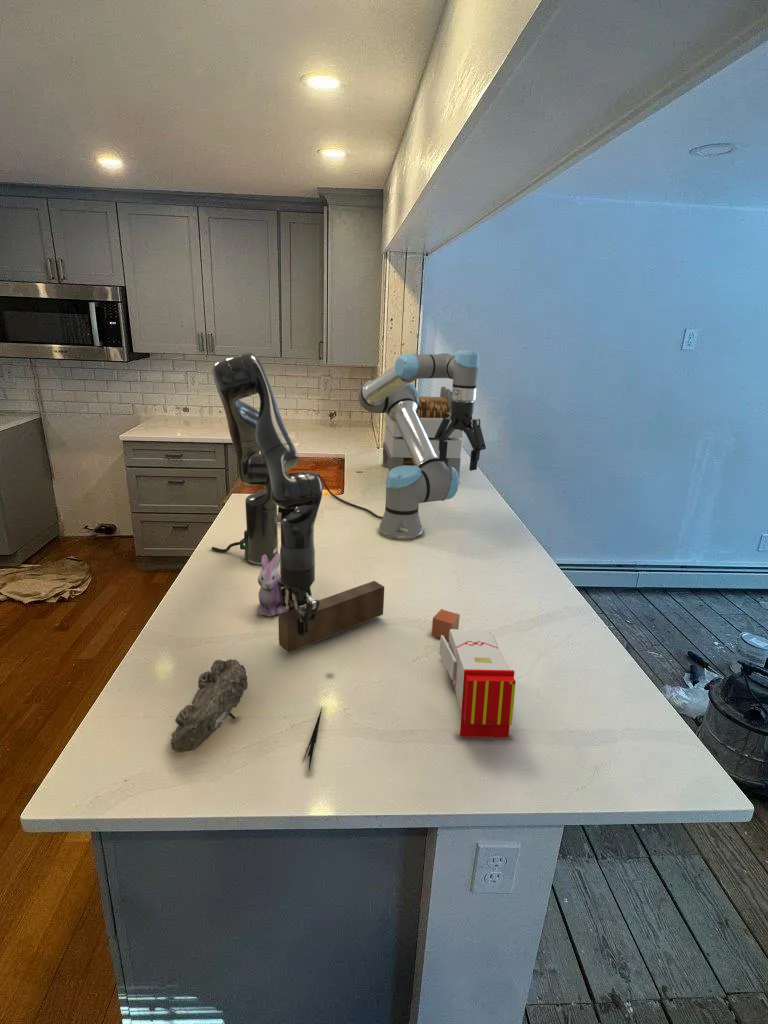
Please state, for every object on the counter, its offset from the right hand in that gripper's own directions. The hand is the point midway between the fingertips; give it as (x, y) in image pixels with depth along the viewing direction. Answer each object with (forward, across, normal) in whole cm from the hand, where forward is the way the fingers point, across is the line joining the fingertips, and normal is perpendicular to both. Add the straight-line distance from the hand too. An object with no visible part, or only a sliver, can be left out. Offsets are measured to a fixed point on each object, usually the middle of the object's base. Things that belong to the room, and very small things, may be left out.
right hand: (457, 465), depth 188 cm
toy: (+27, +60, -58) cm, 88 cm away
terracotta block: (+27, +41, -46) cm, 67 cm away
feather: (+27, +48, -88) cm, 103 cm away
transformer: (+27, -67, +49) cm, 87 cm away
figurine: (+27, +6, -73) cm, 78 cm away
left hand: (+22, +25, -78) cm, 85 cm away
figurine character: (+27, -46, -37) cm, 65 cm away
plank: (+25, +25, -68) cm, 77 cm away
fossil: (+27, +35, -103) cm, 112 cm away
